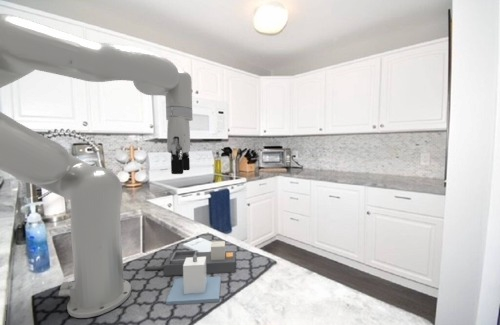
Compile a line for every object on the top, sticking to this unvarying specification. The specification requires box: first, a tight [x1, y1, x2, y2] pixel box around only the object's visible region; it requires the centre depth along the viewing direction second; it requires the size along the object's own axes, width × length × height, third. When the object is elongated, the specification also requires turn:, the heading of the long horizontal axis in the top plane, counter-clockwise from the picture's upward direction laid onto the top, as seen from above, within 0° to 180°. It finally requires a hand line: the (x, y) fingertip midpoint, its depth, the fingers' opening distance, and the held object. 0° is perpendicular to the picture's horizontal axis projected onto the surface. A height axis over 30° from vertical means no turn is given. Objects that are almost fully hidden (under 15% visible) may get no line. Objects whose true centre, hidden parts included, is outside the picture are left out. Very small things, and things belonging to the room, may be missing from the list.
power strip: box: [144, 240, 236, 277], centre depth 67 cm, size 26×7×7 cm, turn 95°
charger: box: [182, 255, 208, 294], centre depth 56 cm, size 5×4×8 cm
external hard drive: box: [182, 237, 213, 252], centre depth 81 cm, size 2×8×12 cm
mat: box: [165, 275, 222, 306], centre depth 57 cm, size 12×9×1 cm
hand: (181, 171), depth 69 cm, fingers open, 9 cm apart
